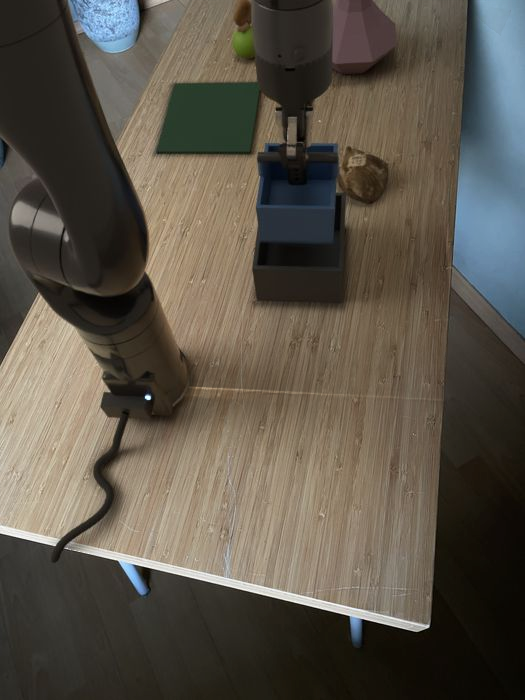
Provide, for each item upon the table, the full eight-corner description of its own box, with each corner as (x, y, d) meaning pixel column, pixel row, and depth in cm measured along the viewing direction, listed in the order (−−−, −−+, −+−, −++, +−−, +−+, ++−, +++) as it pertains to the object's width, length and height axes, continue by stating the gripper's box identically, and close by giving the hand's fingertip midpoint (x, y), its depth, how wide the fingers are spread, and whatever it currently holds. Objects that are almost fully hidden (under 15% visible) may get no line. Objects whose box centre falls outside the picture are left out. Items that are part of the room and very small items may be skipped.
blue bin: (335, 244, 72) (337, 188, 64) (258, 242, 73) (250, 187, 65) (338, 180, 78) (340, 121, 70) (266, 179, 79) (261, 121, 71)
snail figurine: (271, 48, 112) (266, -18, 101) (252, 67, 109) (245, 1, 99) (247, 41, 114) (240, -25, 103) (228, 59, 111) (219, -6, 101)
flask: (326, 25, 114) (327, -94, 97) (409, 41, 109) (425, -82, 92) (292, 77, 107) (286, -42, 90) (379, 95, 102) (391, -26, 85)
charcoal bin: (341, 305, 81) (343, 271, 74) (257, 302, 82) (251, 268, 76) (344, 229, 88) (346, 192, 81) (266, 228, 89) (262, 191, 82)
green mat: (250, 153, 98) (250, 151, 97) (156, 153, 99) (155, 151, 99) (261, 84, 107) (260, 81, 106) (174, 85, 108) (174, 83, 108)
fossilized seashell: (340, 145, 93) (321, 196, 90) (362, 123, 87) (342, 177, 84) (379, 168, 95) (362, 220, 92) (403, 148, 89) (385, 203, 86)
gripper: (260, -1, 60) (272, 139, 75) (245, 83, 53) (261, 219, 68) (335, -3, 59) (332, 139, 74) (329, 82, 52) (327, 221, 67)
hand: (298, 177), depth 71 cm, fingers closed on blue bin, 1 cm apart
